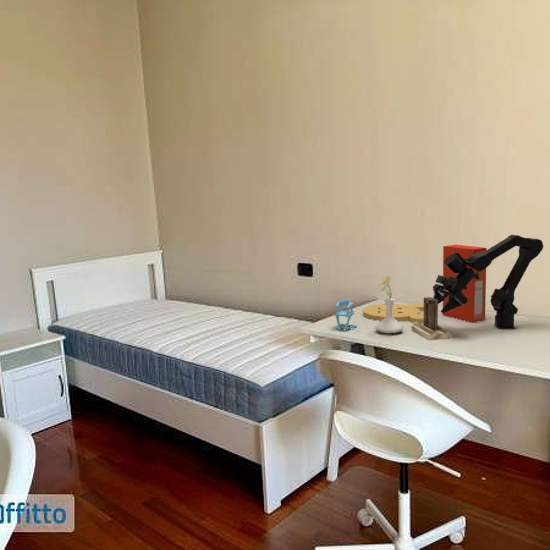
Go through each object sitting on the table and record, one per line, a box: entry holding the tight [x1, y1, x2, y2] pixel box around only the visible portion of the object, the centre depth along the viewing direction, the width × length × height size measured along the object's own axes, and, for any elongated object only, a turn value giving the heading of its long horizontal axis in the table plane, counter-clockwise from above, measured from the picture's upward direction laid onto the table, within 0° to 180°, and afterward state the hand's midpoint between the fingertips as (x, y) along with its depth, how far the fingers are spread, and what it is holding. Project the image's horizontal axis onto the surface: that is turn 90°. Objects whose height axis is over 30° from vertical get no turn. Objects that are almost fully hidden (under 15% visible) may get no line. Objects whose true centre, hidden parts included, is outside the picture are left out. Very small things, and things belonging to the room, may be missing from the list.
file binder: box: [442, 244, 488, 324], centre depth 233 cm, size 8×17×32 cm, turn 27°
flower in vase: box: [375, 273, 404, 334], centre depth 215 cm, size 13×11×25 cm
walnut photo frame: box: [422, 296, 439, 331], centre depth 211 cm, size 3×6×12 cm, turn 11°
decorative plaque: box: [362, 302, 424, 325], centre depth 246 cm, size 31×3×30 cm
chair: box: [334, 299, 357, 332], centre depth 224 cm, size 8×8×12 cm
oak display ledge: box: [411, 322, 451, 341], centre depth 212 cm, size 9×15×3 cm, turn 11°
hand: (435, 309), depth 212 cm, fingers open, 9 cm apart
